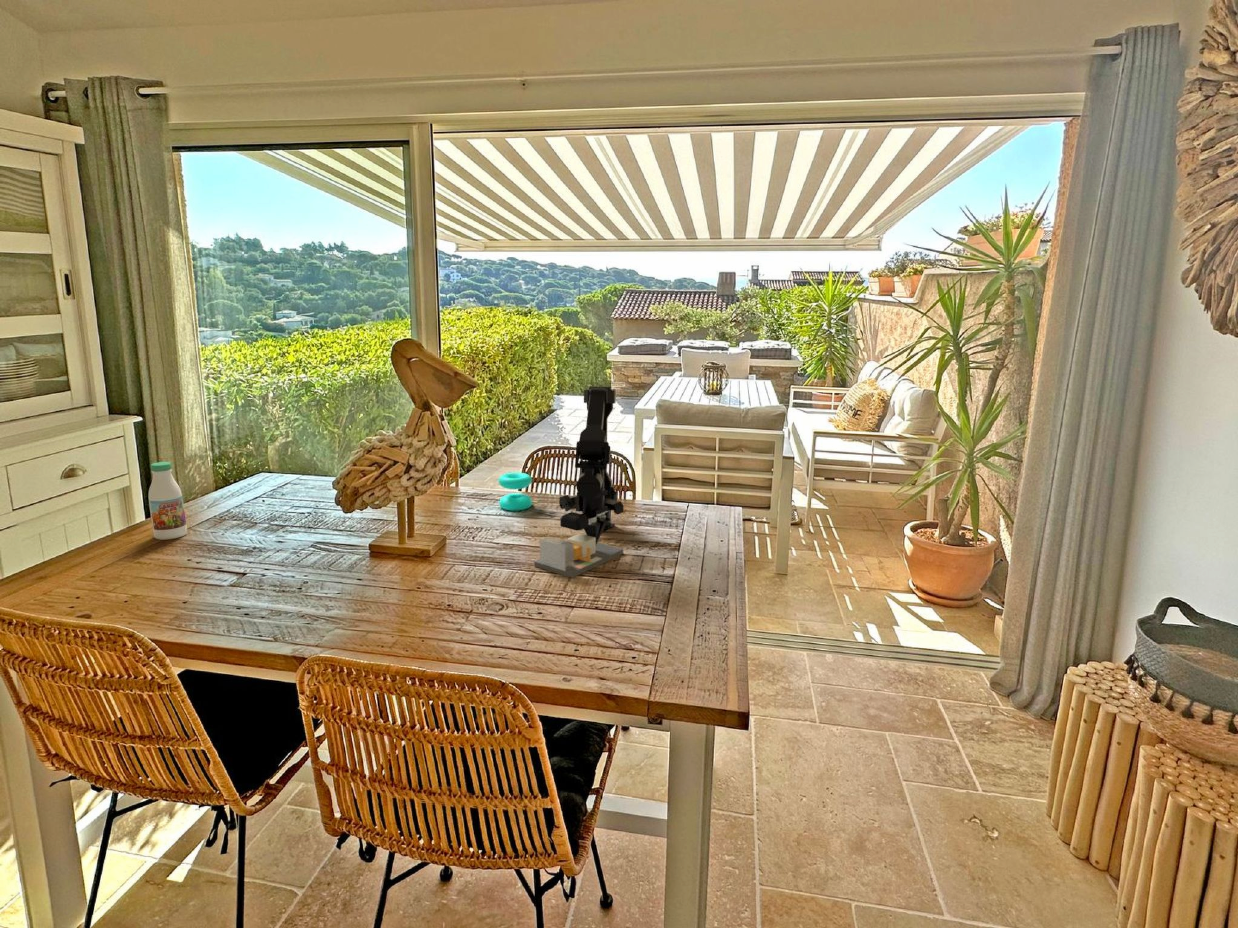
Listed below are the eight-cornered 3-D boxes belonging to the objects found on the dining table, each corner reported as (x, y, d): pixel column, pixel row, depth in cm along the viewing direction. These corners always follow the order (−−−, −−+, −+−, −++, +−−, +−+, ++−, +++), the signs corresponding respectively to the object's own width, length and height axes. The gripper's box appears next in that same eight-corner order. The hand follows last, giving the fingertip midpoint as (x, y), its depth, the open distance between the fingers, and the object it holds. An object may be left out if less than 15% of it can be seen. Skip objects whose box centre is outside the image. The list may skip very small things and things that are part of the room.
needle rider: (568, 554, 180) (568, 541, 179) (592, 561, 176) (592, 547, 175) (563, 556, 178) (563, 543, 178) (587, 563, 174) (587, 549, 173)
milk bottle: (147, 538, 194) (136, 465, 189) (174, 529, 201) (164, 458, 196) (167, 542, 191) (156, 468, 186) (194, 533, 198) (184, 461, 193)
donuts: (531, 479, 217) (497, 480, 216) (532, 511, 219) (498, 512, 218) (531, 471, 226) (499, 471, 225) (532, 501, 229) (500, 502, 228)
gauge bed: (586, 543, 192) (586, 517, 190) (623, 553, 185) (623, 526, 183) (534, 566, 176) (533, 537, 175) (571, 577, 169) (571, 548, 168)
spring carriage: (580, 548, 184) (580, 533, 183) (595, 552, 181) (595, 537, 180) (567, 553, 180) (567, 538, 179) (582, 558, 177) (582, 542, 176)
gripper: (590, 474, 192) (591, 530, 196) (542, 489, 178) (544, 550, 181) (624, 480, 186) (624, 538, 189) (578, 497, 171) (578, 559, 175)
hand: (593, 546), depth 184 cm, fingers closed
